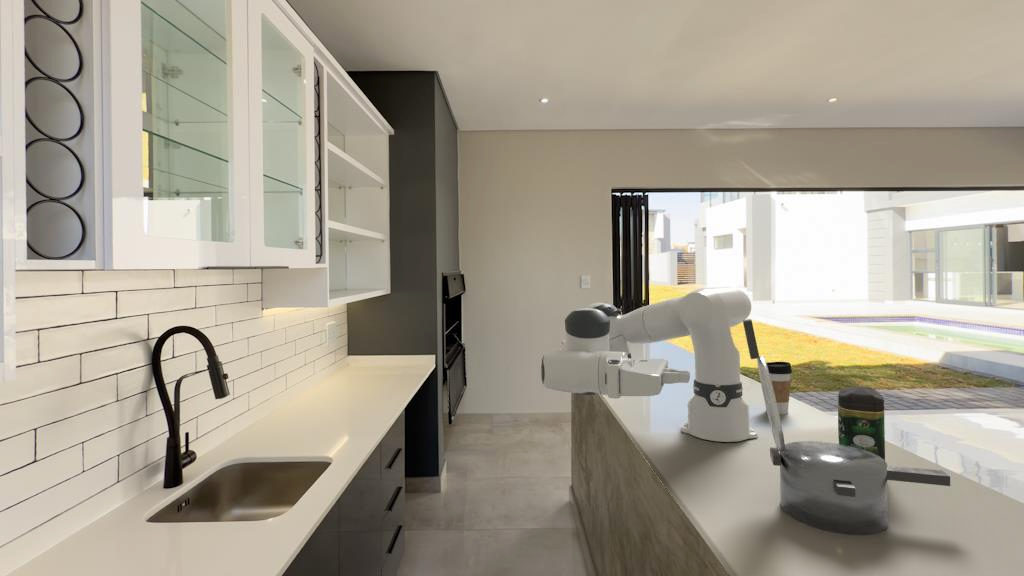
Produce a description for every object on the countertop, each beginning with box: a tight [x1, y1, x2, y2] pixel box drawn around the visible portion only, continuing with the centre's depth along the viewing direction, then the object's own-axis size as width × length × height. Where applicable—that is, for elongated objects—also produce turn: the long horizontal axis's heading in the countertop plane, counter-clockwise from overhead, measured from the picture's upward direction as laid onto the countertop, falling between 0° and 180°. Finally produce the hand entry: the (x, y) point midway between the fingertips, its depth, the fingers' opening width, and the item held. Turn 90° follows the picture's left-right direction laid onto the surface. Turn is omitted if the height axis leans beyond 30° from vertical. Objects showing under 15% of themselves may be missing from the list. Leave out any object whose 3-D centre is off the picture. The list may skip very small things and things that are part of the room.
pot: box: [769, 440, 951, 536], centre depth 89 cm, size 22×26×10 cm
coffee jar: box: [837, 385, 886, 461], centre depth 104 cm, size 10×8×19 cm
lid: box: [742, 318, 785, 452], centre depth 93 cm, size 17×24×2 cm
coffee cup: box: [765, 361, 793, 415], centre depth 154 cm, size 8×8×15 cm
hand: (689, 376), depth 98 cm, fingers closed
